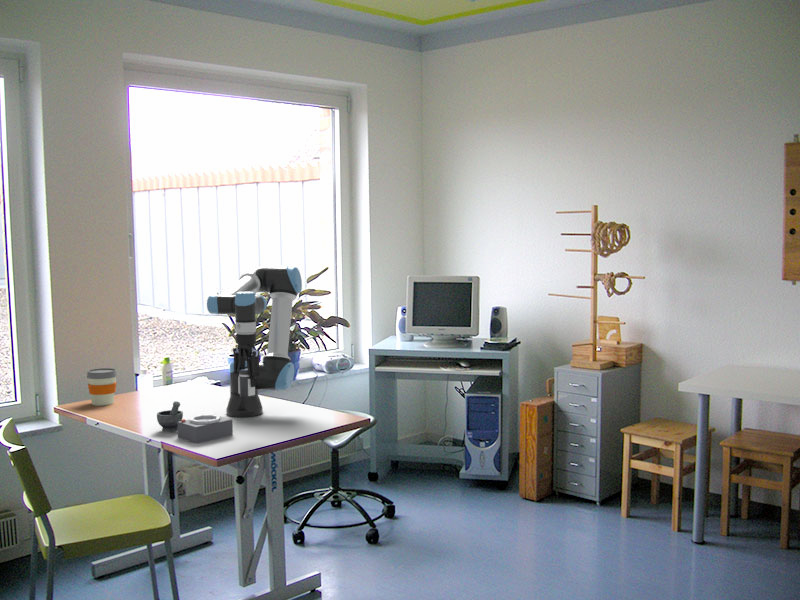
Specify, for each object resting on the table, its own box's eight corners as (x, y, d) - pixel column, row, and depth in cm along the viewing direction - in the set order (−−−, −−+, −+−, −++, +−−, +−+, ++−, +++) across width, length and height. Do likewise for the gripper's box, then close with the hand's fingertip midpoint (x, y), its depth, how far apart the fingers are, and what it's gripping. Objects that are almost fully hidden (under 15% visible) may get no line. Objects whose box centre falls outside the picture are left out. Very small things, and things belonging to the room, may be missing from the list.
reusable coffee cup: (122, 400, 351) (121, 368, 350) (111, 406, 339) (110, 373, 337) (94, 400, 351) (93, 368, 350) (82, 406, 339) (81, 372, 338)
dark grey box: (214, 429, 298) (213, 411, 298) (232, 435, 290) (232, 416, 290) (177, 437, 286) (177, 419, 286) (196, 443, 278) (195, 424, 278)
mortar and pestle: (152, 430, 297) (152, 399, 296) (174, 426, 304) (173, 396, 303) (168, 435, 289) (167, 404, 288) (189, 431, 296) (189, 400, 295)
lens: (248, 394, 293) (247, 367, 292) (256, 396, 290) (256, 369, 289) (236, 396, 289) (236, 369, 288) (245, 398, 286) (244, 371, 285)
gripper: (223, 331, 291) (224, 392, 293) (252, 336, 279) (253, 399, 281) (239, 330, 296) (240, 389, 298) (269, 334, 284) (269, 396, 286)
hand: (246, 394), depth 289 cm, fingers closed on lens, 5 cm apart
